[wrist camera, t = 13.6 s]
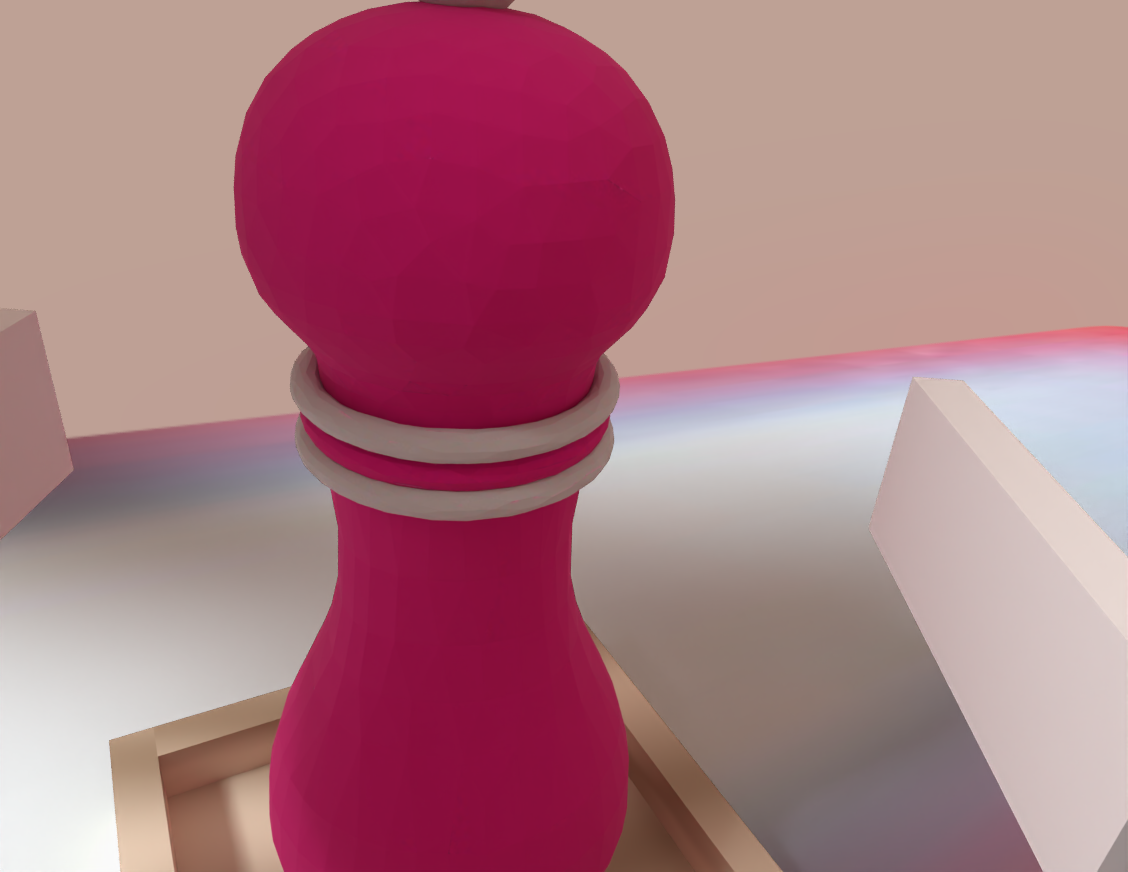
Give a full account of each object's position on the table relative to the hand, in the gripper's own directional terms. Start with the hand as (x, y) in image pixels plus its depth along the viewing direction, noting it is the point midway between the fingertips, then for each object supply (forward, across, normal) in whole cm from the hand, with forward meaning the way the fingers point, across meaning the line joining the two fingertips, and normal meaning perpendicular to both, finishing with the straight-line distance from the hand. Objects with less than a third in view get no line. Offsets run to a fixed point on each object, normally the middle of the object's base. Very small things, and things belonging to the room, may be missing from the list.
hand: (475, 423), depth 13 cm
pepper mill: (0, 0, -13) cm, 13 cm away
